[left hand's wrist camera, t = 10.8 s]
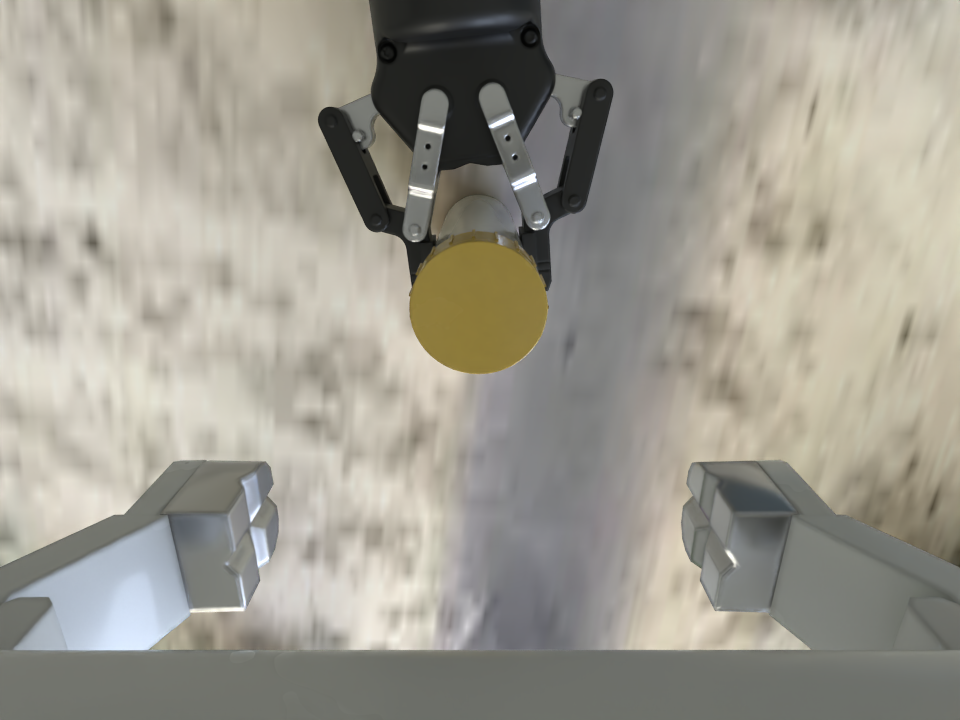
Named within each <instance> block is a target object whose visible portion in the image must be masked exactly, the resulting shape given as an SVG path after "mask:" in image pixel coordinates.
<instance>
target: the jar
mask: <svg viewBox="0 0 960 720" xmlns="http://www.w3.org/2000/svg"><path fill="white" fill-rule="evenodd" d="M473 229H475V231H485V232H491V233H494V232H495V231H496V232H498V234H499V235H502V236H504V237H506V238H508V239H510V240H512V241H515V240H516V241H517V242H518V245H519V246H520V247H521V248H523V246H522V243H521V240H520V238H519V235H518V232H517V230H516V227H515V224H514V221H513V219H512V216H511V214H510V212H509V211H508V209H507V208H506V207H505V206H504V205H503V204H502V203H501V202H500V201H498V200H497V199H495V198H493V197H490V196H486V195H471V196H468V197H465V198H463V199H461V200H459V201H458V202H457V203H455V204H454V205H453V206H452V208H451V209H450V210H449V212H448V213H447V216H446V218H445V220H444V223H443V226H442V228H441V231H440V234H439V236H438V239H437V242H436V244H435V247H437V246H438V245H439V244H441V243H442V242H444V241H445V240H447V239H449V238H450V236H451V235H454V236H455V235H458V234H461V233H466V232H472V230H473Z"/></svg>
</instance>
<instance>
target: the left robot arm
mask: <svg viewBox="0 0 960 720" xmlns="http://www.w3.org/2000/svg"><path fill="white" fill-rule="evenodd" d="M686 484H687V486H688V488H689V489H690V491H691V493H692V495H693V496H692V497H691V498H690V499H689V500H688V501H687V503H686V504H685V505H684V506H683V511H682V520H681V527H682V539H683V543H684V546H685V550H686V552H687V555H688V557H689V559H690V561H691V562H693V563H694V564H695V565H697V566H698V567H700V568H701V569H702V571H701V577H700V582H701V584H702V586H703V588H704V590H705V592H706V594H707V596H708V598H709V600H710V602H711V604H712V606H713V608H714V610H715V611H737V612H770V614H769V615H770V616H771V617H773V618H774V619H775V620H776V621H778V622H779V623H780V624H781V625H782V626H784V627H785V628H786V629H787V630H789V631H790V632H791V633H792V634H793V635H795V636H796V637H797V638H798V639H800V640H801V641H802V642H803V643H805V644H806V645H807V646H808V647H809V648H811V649H812V650H148V649H150V648H151V647H152V646H153V645H154V644H156V643H157V642H158V641H159V640H161V639H162V638H163V637H164V636H166V635H167V634H168V633H169V632H170V631H172V630H173V629H174V628H175V627H177V626H178V625H179V624H180V623H182V622H183V621H184V620H185V619H186V618H188V617H189V616H190V612H222V611H245V610H246V608H247V606H248V604H249V602H250V600H251V598H252V596H253V594H254V592H255V590H256V588H257V586H258V584H259V582H260V577H259V571H258V569H259V568H260V567H262V566H263V565H265V564H266V563H267V562H269V561H270V559H271V557H272V554H273V552H274V550H275V547H276V542H277V537H278V526H279V518H278V511H277V506H276V505H275V504H274V503H273V501H272V500H271V499H270V498H269V497H268V496H267V495H268V493H269V491H270V489H271V488H272V486H273V478H272V473H271V468H270V466H269V465H268V464H267V463H266V462H262V461H211V460H210V461H206V460H181V461H175V462H173V463H172V464H171V465H170V466H169V467H168V468H167V469H166V470H165V471H164V472H163V474H162V475H161V476H160V477H159V478H158V479H157V480H156V481H155V482H154V483H153V484H152V485H151V486H150V488H149V489H148V490H147V491H146V492H145V493H144V494H143V495H142V496H141V497H140V498H139V499H138V500H137V501H136V503H135V504H134V505H133V506H132V507H131V508H130V509H129V510H128V511H127V512H126V513H125V514H124V515H113V516H111V517H109V518H106V519H104V520H102V521H100V522H98V523H96V524H93V525H91V526H89V527H87V528H85V529H82V530H80V531H78V532H76V533H74V534H72V535H69V536H67V537H65V538H63V539H61V540H58V541H56V542H54V543H52V544H50V545H47V546H45V547H43V548H41V549H39V550H37V551H34V552H32V553H30V554H28V555H26V556H23V557H21V558H19V559H17V560H15V561H13V562H10V563H8V564H6V565H4V566H2V567H0V720H960V567H958V566H956V565H954V564H952V563H949V562H947V561H945V560H943V559H941V558H938V557H936V556H934V555H932V554H930V553H928V552H925V551H923V550H921V549H919V548H917V547H914V546H912V545H910V544H908V543H906V542H904V541H901V540H899V539H897V538H895V537H893V536H891V535H888V534H886V533H884V532H882V531H880V530H877V529H875V528H873V527H871V526H869V525H867V524H864V523H862V522H860V521H858V520H856V519H854V518H851V517H849V516H847V515H836V514H835V513H834V512H833V511H832V510H831V509H830V508H829V507H828V506H827V505H826V504H825V503H824V501H823V500H822V499H821V498H820V497H819V496H818V495H817V494H816V493H815V492H814V491H813V490H812V489H811V487H810V486H809V485H808V484H807V483H806V482H805V481H804V480H803V479H802V478H801V477H800V476H799V475H798V473H797V472H796V471H795V470H794V469H793V468H792V467H791V466H790V465H789V464H788V463H787V462H785V461H782V460H762V461H726V462H695V463H692V464H691V466H690V469H689V471H688V477H687V483H686Z"/></svg>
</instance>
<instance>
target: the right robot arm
mask: <svg viewBox="0 0 960 720" xmlns="http://www.w3.org/2000/svg"><path fill="white" fill-rule="evenodd" d="M369 4H370V11H371V18H372V25H373V32H374V39H375V46H376V53H377V68H376V73H375V77H374V80H373V82H372V86H371V94H369V95H367V96H364V97H362V98H360V99H358V100H355V101H353V102H351V103H349V104H347V105H344V106H342V107H340V108H335V107H326V108H324V109H323V110H322V111H321V112H320V114H319V116H318V123H319V126H320V128H321V131H322V133H323V135H324V137H325V139H326V141H327V144H328V146H329V148H330V150H331V152H332V154H333V156H334V159H335V161H336V163H337V165H338V167H339V169H340V172H341V174H342V176H343V178H344V180H345V182H346V184H347V187H348V189H349V191H350V193H351V195H352V197H353V200H354V202H355V204H356V206H357V208H358V210H359V212H360V215H361V217H362V219H363V221H364V223H365V225H366V227H367V228H368V229H369V230H371V231H373V232H385V233H388V234H392V235H396V236H398V237H399V238H401V239H402V240H403V242H404V243H405V245H406V249H407V256H408V263H409V270H410V277H411V283H412V286H413V284H414V282H415V280H416V278H417V275H416V272H417V270H418V267H419V265H420V263H422V264H423V262H424V261H425V259H426V258H427V256H428V255H429V254H430V253H431V250H432V248H433V247H434V246H435V244H436V242H437V241H436V235H432V234H431V220H432V215H433V209H434V204H435V198H436V193H437V189H438V184H439V178H440V173H441V170H451V169H456V168H458V167H461V166H463V165H466V164H468V163H474V164H480V165H486V166H490V165H500V164H503V167H504V169H505V172H506V174H507V177H508V179H509V182H510V184H511V187H512V189H513V192H514V194H515V197H516V200H517V202H518V205H519V207H520V210H521V212H522V227H519V238H520V240H521V243H522V246H523V249H524V250H525V251H526V252H527V254H528V255H529V256H531V255H532V257H533V258H534V261H535V263H536V268H537V270H538V272H539V275H540V274H542V277H543V279H544V281H545V284H546V287H544V288H545V291H548V290H549V287H550V284H551V281H552V280H551V263H550V244H549V231H550V228H551V226H552V224H553V223H554V222H555V221H556V220H558V219H560V218H562V217H564V216H566V215H568V214H570V213H572V214H574V213H578V212H580V211H582V210H583V209H584V207H585V206H586V202H587V198H588V194H589V190H590V186H591V182H592V178H593V174H594V170H595V166H596V162H597V158H598V154H599V150H600V146H601V142H602V138H603V134H604V130H605V126H606V122H607V118H608V114H609V110H610V106H611V102H612V98H613V88H612V85H611V84H610V83H609V82H608V81H607V80H605V79H596V80H593V81H587V80H582V79H578V78H573V77H568V76H563V75H559V74H555V70H554V67H553V65H552V63H551V61H550V60H549V58H548V56H547V54H546V52H545V49H544V46H543V41H542V28H541V8H540V0H369ZM550 97H553V98H554V99H556V101H557V102H558V104H559V107H560V114H559V115H560V120H561V122H562V123H563V124H564V125H565V126H567V127H571V129H570V133H569V138H568V142H567V146H566V151H565V155H564V160H563V164H562V168H561V173H560V177H559V182H558V186H557V188H556V189H554V190H552V191H550V192H548V193H546V194H544V195H543V194H542V191H541V189H540V186H539V183H538V181H537V177H536V174H535V171H534V168H533V166H532V163H531V160H530V158H529V155H528V152H527V150H526V147H525V144H524V141H525V140H526V138H527V136H528V134H529V133H530V131H531V129H532V128H533V126H534V124H535V122H536V121H537V119H538V117H539V115H540V114H541V112H542V110H543V108H544V107H545V105H546V103H547V101H548V100H549V98H550ZM379 115H381V116H382V117H383V118H384V120H385V121H386V122H387V123H388V124H389V125H390V126H391V128H392V129H393V130H394V131H395V132H396V133H397V134H398V136H399V137H400V138H401V139H402V140H403V141H404V142H405V144H406V145H407V146H408V147H409V148H410V149H411V150H412V152H413V160H412V166H411V172H410V178H409V185H408V197H407V203H406V208H403V207H399V206H395V205H392V203H391V200H390V198H389V196H388V194H387V191H386V189H385V187H384V184H383V182H382V180H381V178H380V175H379V173H378V171H377V169H376V166H375V164H374V162H373V160H372V157H371V155H370V153H369V151H368V148H369V147H371V146H372V145H373V144H374V142H375V139H376V134H375V130H374V122H375V120H376V118H377V117H378V116H379Z"/></svg>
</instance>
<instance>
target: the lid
mask: <svg viewBox="0 0 960 720" xmlns="http://www.w3.org/2000/svg"><path fill="white" fill-rule="evenodd" d="M416 275H417V278H416V280H415V282H414V284H413V286H412V288H411V291H410V293H409V296H410V307H409V311H410V319H411V323H412V327H413V330H414V332H415V335H416V337H417V339H418V340H419V342H420V344H421V345H422V346H423V348H424V349H425V350H426V351H427V352H428V353H429V354H430V355H431V356H432V357H433V358H434V359H436V360H437V361H438V362H440V363H441V364H443V365H445V366H447V367H449V368H451V369H453V370H457V371H460V372H464V373H470V374H488V373H493V372H498V371H501V370H504V369H506V368H508V367H511V366H513V365H514V364H516V363H517V362H519V361H520V360H522V359H523V358H524V357H525V356H527V355H528V354H529V352H530V351H531V350H532V349H533V348H534V347H535V345H536V344H537V342H538V341H539V339H540V337H541V335H542V333H543V330H544V328H545V324H546V320H547V313H548V309H549V306H548V301H547V295H546V291H545V288H544V287H546V284H545V281H544V279H543V277H542V274H540V275H539V272H538V270H537V268H536V263H535V261H534V258H533V257H532V255H531V256H529V255H528V254H527V252H526V251H525V250H524V249H523V248H521V247H520V246H519V245H518V242H517V241H516V240H515V241H512V240H510V239H508V238H506V237H504V236H502V235H499V234H498V232H496V231H495V232H494V233H491V232H485V231H475V229H473V230H472V232H466V233H461V234H458V235H455V236H454V235H451V236H450V238H449V239H447V240H445V241H444V242H442V243H441V244H439V245H438V246H437V247H435V246H434V247H433V248H432V250H431V253H430V254H429V255H428V256H427V258H426V259H425V261H424V262H423V264H422V263H420V265H419V267H418V270H417V272H416Z"/></svg>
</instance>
